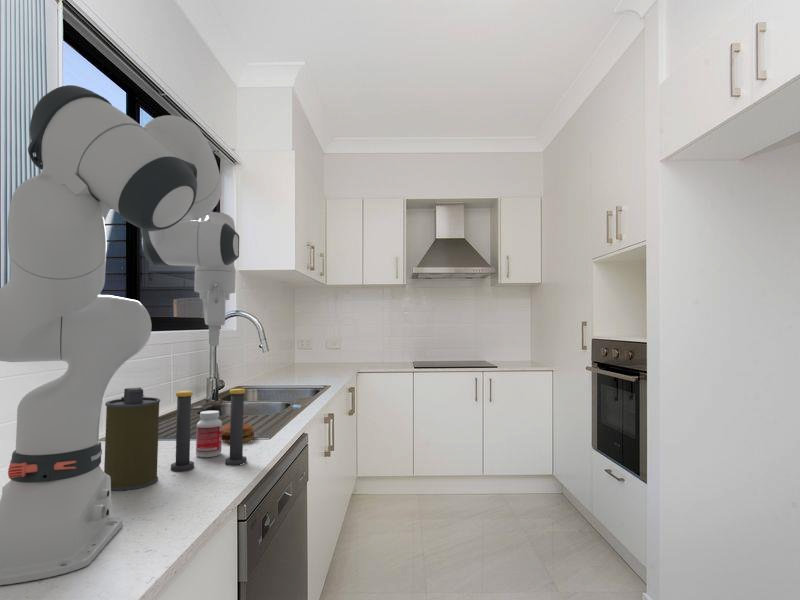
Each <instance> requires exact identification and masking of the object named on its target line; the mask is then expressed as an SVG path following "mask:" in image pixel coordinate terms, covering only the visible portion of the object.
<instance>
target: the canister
mask: <svg viewBox="0 0 800 600" xmlns="http://www.w3.org/2000/svg"><path fill="white" fill-rule="evenodd" d="M160 402H161V399H160V398H158V397H151V396H150V397H148V396H147V397H146V396H145V395H144V389H143V388H142V387H131V388H130V387H128V388H124V391H123V396H122V397H120V398H116V399H112V400H109V401H106V402H105V406H106V412H105V413H106V414H105V439H104V441H105V443H104V444H105V445H104V463H103V464H104V468H103V471H104V472H105V473H106V474H108V475H109V476H110V478H111V491H114V492H118V491H120V492H121V491H123V492H124V491H129V490H130V491H131V490H138V489H142V488H145V487H149V486H151V485H153V484H154V483H156V482H158V480H159V477H158V453H159V425H160V424H159V423H160Z"/></svg>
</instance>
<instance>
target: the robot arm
mask: <svg viewBox="0 0 800 600" xmlns="http://www.w3.org/2000/svg"><path fill="white" fill-rule="evenodd" d="M29 137H30V143H29V145H28V147H27V152H28V155H29V158H30V160H31V162H32V163H33V164H34V165H35V166H36V167H37V169H39V170H41V172H40V173H39V174H37V175H36V176H32V177H30V178H28V179H26V180H25V181H23V182H21V183H20V184H19V185H18V186H17V187H16V189H15V190H14V192H13V194H12V196H11V201H10V205H9V209H8V210H9V211H8V216H7V245H8V255H9V261H10V279H9V280H8V281H7V282H6V284H5V285H3V286H2V287H0V362H7V363H28V362H30V363H31V362H32V363H34V362H36V363H37V362H56V361H57V362H61V361H62V362H66V363H67V364H68V366H67V370H66V371H65V372H64V373H63V374H62V375H61V376H59V377H57V378H55V379H53V380H50V381H49V382H46V383H43V384H42V385H39V386H38V387H35V388H34V389H32V390H31V391H29V392H27V394H24V396H23V397H22V398H21V400H20V401H19V404H18V405H17V410H16V433H15V434H16V435H15V450H13V452H12V454H11V458H10V461H9V466H8V471H7V476H8V478H9V479H10V480H9V481H8V482H7V483H5V485H3V486H2V489H1V497H0V586H3V585H13V584H17V583H18V584H20V583H25V582H26V583H27V582H31V581H36V580H37V581H38V580H41V579H47V578H51V577H55V576H60V575H63V574H67V573H71V572H73V571H77V570H79V569H82V568H85V567H87V566H88V565H90V564H91V563H92V562H93V560H94V559H95V558H96V557H97V556H98V554H99V553H101V551H102V550H103V549H104V548H105V546H106V545H107V544H108V543H109V542H110V540H111V539H113V538H114V537H115V534H117V532H119V530H120V529H121V528H122V527H123V520H122V518H120V517H115V516H112V490H111V478H110V476H109V475H108V474H106V473H105V472H104V469H102V468H101V466H100V465H101V463H102V454H103V449H102V442H101V441H100V440H99V436H100V423H101V421H100V420H101V412H102V405H103V404H102V403H103V399H104V395H105V391H106V390H107V387H108V385H109V384H110V382H111V380H112V378H113V377H114V375H115V373H117V371H119V369H120V368H121V367H122V366H123V365H124V364H125V363H126V362H128V360H130V359H132V358H133V357H134V356H136V355H137V354H138V353H140V352H141V351H142V350H143V349H144V348H145V346H146V345H147V344H148V342H149V339H150V337H151V334H152V319H151V316H150V314H149V312H148V309H146V307H145V305H143V304H142V303H141V302H140V301H139V300H136V299H131V298H127V297H121V296H115V295H111V294H101V292H102V291H103V289H104V287H105V283H106V268H107V267H106V265H107V242H108V241H107V232H106V225H105V223H106V219H107V217H108V214H109V212H110V211H111V209H112V210H113V211H115V212H116V213H118V214H119V215H120V217H121V218H122V219H123V220H124V221H126V222H128V223H130V224H132V225H133V226H135V227H137V228H140V233H141V246H142V252H143V256H144V257H145V258H146V260H147V261H149V262H150V263H151V264H152V265H154V266H155V267H158V268H160V267H174V266H175V267H178V266H180V267H195V268H194V281H193V282H194V284H193V285H194V286H193V287H194V288H193V289H194V290H193V291H194V293H198V294H200V295H199V299H200V300H202V307H203V317H204V324H205V325H206V326H208V344H209V346H211V347H218V346H219V343H220V340H219V339H220V331H221V326H224V325H225V323H226V301H229V300H230V296H231V295H230V294H235V293H236V282H237V281H236V280H237V279H236V275H237V272H236V267H235V261H236V260H237V259H238V258H240V235H239V233H238V232H236V226H235V220H234V218H233V217H232V216H231V215H229V214H227V213H224V212H220V211H213V210H214V209H215V207H216V206H217V205H218V203H219V201H220V198H221V195H222V179H221V174H220V169H219V166H218V163H217V160H216V156H215V154H214V152H213V149H212V148H211V146H210V144H209V142H208V140H207V138H206V137H205V136H204V134H203V133H202V131H201V130H200V128H199V127H198V126H197V125H195V123H193V122H192V121H191V120H188V119H187V118H184V117H182V116H177V115H173V114H172V115H169V114H168V115H167V114H166V115H161V116H157V117H154V118H153V119H151V120H150V121H148V122H147V123H146V124H145V125H144V126H142V125H141V124H140V123H138V122H137V121H136V120H135V119H134V118H132V117H131V116H129V115H127V114H126V113H125V112H123V111H122V110H120V109H118V107H115V106H114V105H112V103H111V102H110V101H109V100H108V99H107V98H105V97H104V96H101V95H100V94H98V93H96V92H94V91H92V90H90V89H88V88H85V87H82V86H78V85H74V84H72V85H71V84H69V85H68V84H67V85H62V86H59V87H56V88H54V89H52V90H51V91H49V92H48V93H46V94H45V95H44V96H42V97H41V98H40V99H39V101H38V102H37V103H36V105H35V107H34V108H33V112H32V115H31V120H30V123H29ZM34 154H35V156H34Z"/></svg>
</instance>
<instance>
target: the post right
mask: <svg viewBox="0 0 800 600" xmlns="http://www.w3.org/2000/svg"><path fill="white" fill-rule="evenodd" d="M229 394H230V422H229V424H230V443H229V456H228V457H227V458H225V460H224V461H225V462H224V464H225V466H228V465H238V466H241V465H240V464H243V463H245V464H247V463H246V462H248V459H247V456H245V455H244V454H243V453H244V452H243V451H244V450H243V446H244V445H243V444H244V443H243V424H244V404H245V403H244V402H245V399H244V398H245V394H246V389H245V388H233V389H229ZM243 465H244V464H243Z"/></svg>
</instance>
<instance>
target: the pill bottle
mask: <svg viewBox="0 0 800 600" xmlns="http://www.w3.org/2000/svg"><path fill="white" fill-rule="evenodd" d="M199 418H200V420H199V421H198V422H197V423H196V439H195V446H196V447H195V455H196V456H197V457H198V458H213V457H214V458H215V457H218V456H220V455H221V453H222V441H223V440H222V427H223V422H222V420H221V419H220V411H219V410H204V411H200V413H199Z"/></svg>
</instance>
